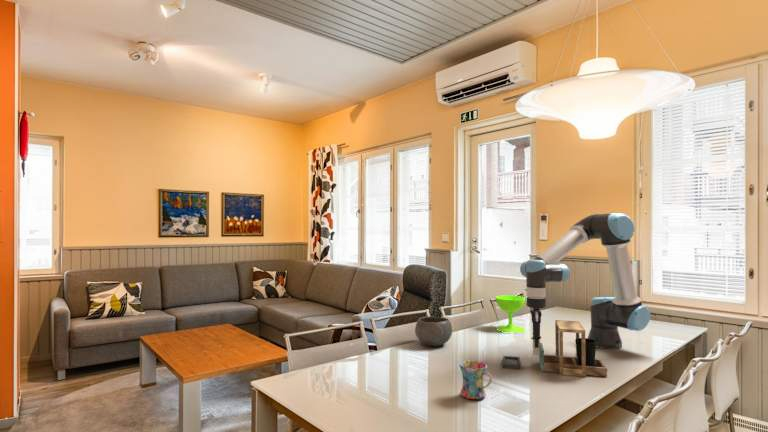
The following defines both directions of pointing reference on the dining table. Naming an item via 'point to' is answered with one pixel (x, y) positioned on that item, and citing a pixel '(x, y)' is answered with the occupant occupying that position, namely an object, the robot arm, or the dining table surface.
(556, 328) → the brown wooden frame
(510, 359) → the tray
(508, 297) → the wineglass
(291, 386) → the dining table surface
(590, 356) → the cup
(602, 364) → the sled
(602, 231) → the robot arm
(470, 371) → the mug
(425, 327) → the bowl
